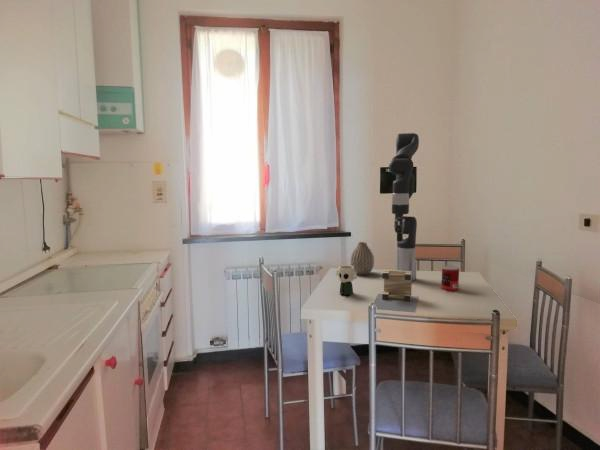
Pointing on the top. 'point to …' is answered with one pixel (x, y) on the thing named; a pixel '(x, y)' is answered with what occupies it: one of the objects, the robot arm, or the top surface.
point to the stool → (397, 284)
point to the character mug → (346, 279)
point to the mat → (396, 304)
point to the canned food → (450, 278)
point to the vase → (362, 259)
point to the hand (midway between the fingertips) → (399, 240)
